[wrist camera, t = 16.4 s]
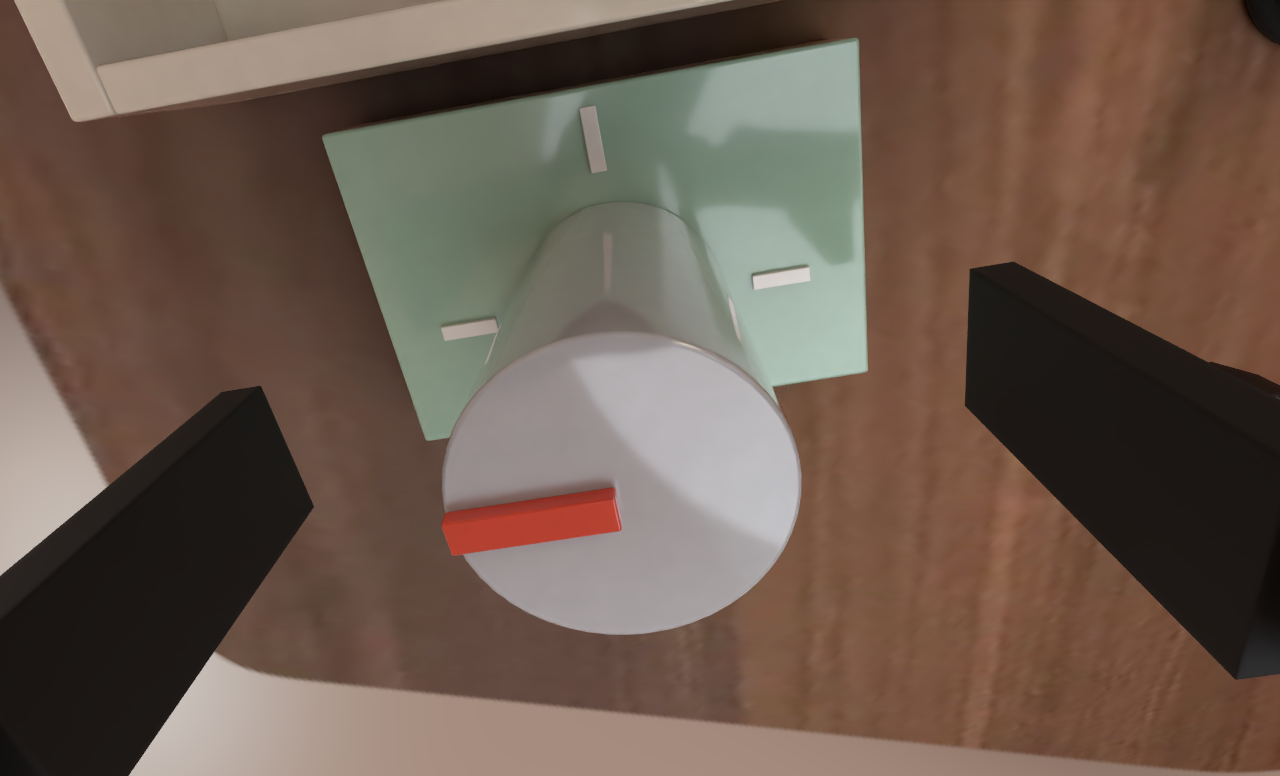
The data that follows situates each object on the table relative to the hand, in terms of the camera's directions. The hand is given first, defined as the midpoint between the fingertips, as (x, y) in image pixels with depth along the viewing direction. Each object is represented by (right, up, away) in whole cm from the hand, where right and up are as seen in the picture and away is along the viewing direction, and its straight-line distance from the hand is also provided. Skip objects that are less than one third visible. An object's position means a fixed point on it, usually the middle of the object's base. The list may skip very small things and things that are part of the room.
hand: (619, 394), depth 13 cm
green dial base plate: (0, +4, +6) cm, 7 cm away
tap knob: (0, +2, +4) cm, 5 cm away
